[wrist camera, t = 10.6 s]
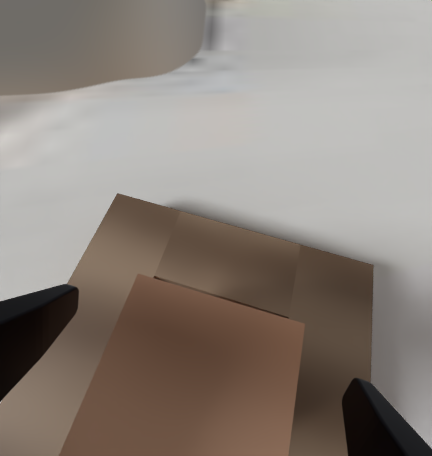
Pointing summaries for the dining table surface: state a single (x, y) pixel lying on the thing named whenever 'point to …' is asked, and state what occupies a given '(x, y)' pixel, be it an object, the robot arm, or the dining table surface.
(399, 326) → the dining table surface
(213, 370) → the terracotta peg
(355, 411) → the robot arm
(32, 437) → the walnut hole board
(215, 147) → the dining table surface
